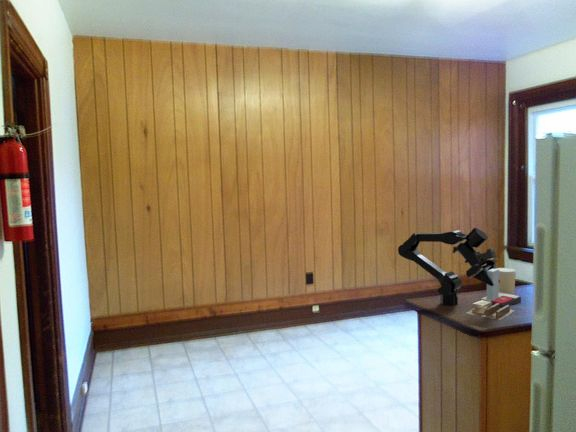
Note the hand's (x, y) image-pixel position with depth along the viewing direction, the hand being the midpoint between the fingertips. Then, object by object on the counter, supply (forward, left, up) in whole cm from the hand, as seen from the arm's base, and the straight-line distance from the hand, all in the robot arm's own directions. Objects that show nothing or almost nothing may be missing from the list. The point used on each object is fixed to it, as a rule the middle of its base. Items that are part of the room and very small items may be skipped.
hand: (496, 283), depth 188 cm
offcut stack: (-4, +4, -12) cm, 13 cm away
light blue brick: (-1, +1, -6) cm, 7 cm away
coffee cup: (+21, +30, -14) cm, 39 cm away
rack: (-2, +2, -13) cm, 14 cm away
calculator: (+10, +14, -14) cm, 22 cm away
